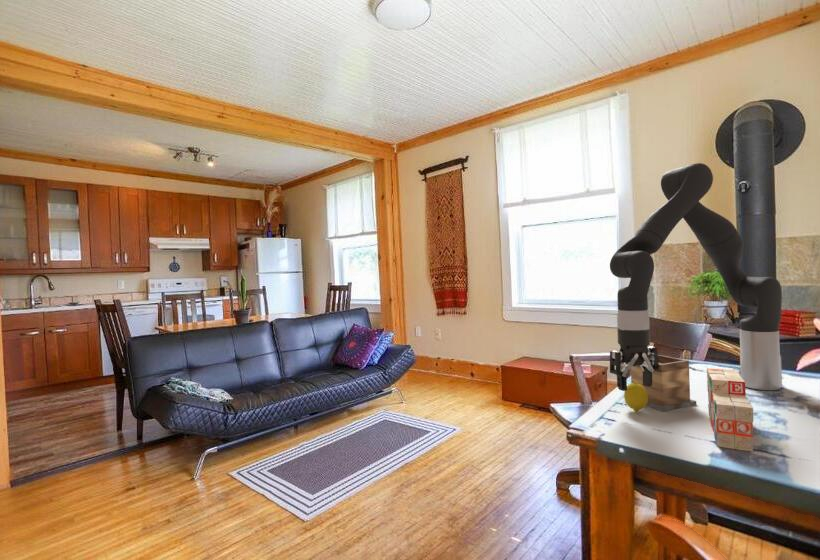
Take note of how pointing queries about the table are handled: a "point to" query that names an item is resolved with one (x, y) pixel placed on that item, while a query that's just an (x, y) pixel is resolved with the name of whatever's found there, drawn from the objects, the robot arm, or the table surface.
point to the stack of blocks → (729, 410)
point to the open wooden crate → (667, 384)
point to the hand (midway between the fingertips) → (635, 387)
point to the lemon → (636, 396)
